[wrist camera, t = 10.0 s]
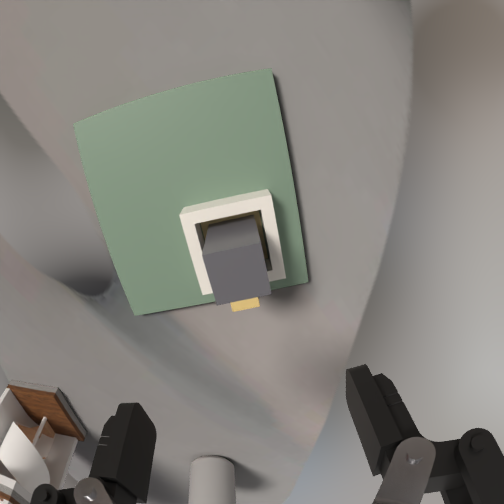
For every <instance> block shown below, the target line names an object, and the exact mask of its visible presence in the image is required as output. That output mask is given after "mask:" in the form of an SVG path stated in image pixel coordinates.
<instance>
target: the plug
mask: <svg viewBox="0 0 504 504" xmlns="http://www.w3.org/2000/svg"><path fill="white" fill-rule="evenodd" d="M202 257H203V261H204V264H205V267H206V271H207V274H208V278H209V281H210V284H211V288H212V291H213V294H214V298H215V301H216V304H217V305H221V304H226V303H231V307H232V310H233V312H235V311H240V310H245V309H249V308H254V307H259V306H260V304H259V298H258V297H261V296H265V295H270V294H271V289H270V284H269V279H268V274H267V269H266V264H265V260H264V255H263V250H262V245H261V241H260V237H259V233H258V229H257V225H256V221H255V218H254V215H249V216H244V217H240V218H235V219H231V220H226V221H222V222H217V223H213V224H209V226H208V230H207V235H206V239H205V244H204V248H203V253H202Z"/></svg>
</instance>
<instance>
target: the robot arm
mask: <svg viewBox="0 0 504 504" xmlns="http://www.w3.org/2000/svg"><path fill="white" fill-rule="evenodd" d="M346 399H347V404H348V408H349V411H350V413H351V416H352V419H353V422H354V424H355V427H356V430H357V432H358V435H359V438H360V440H361V443H362V446H363V449H364V452H365V454H366V457H367V460H368V463H369V466H370V469H371V472H372V474H373V476H375V475H378V474H381V475H382V478H383V482H382V485H381V486H380V489H379V491H378V493H377V495H376V497H375V499H374V501H373V503H372V504H420V502H421V500H422V497H423V494H424V493H431V492H438V491H440V492H441V495H442V497H443V500H444V503H445V504H504V456H503V454H502V452H501V450H500V448H499V446H498V444H497V442H496V440H495V439H494V437H493V435H492V434H491V433H490V432H489V431H488V430H485V429H482V428H475V429H471V430H469V431H467V432H466V433H465V434H464V435H463V436H462V437H461V439H457V440H450V441H444V442H434V441H430V440H428V439H426V438H424V437H423V436H422V435H421V434H420V433H419V431H418V429H417V427H416V425H415V424H414V422H413V420H412V418H411V416H410V414H409V412H408V410H407V408H406V406H405V404H404V403H403V402H402V399H401V397H400V395H399V394H398V392H397V389H396V388H395V386H394V384H393V382H392V381H391V380H390V379H388V378H387V377H386V376H385V375H383V374H382V373H381V374H378V375H375V376H372V374H371V372H370V370H369V368H368V366H367V365H366V364H364V365H361V366H357V367H354V368H350V369H347V370H346ZM155 443H156V429H155V426H154V424H153V422H152V421H151V420H150V418H149V417H148V415H147V414H146V412H145V411H144V409H143V408H142V406H141V405H140V404H139V403H121V404H120V405H119V406H118V409H117V412H116V415H115V416H111V417H110V418H109V420H108V421H107V422H106V424H105V425H104V428H103V431H102V434H101V438H100V440H99V446H98V447H97V450H96V454H95V457H94V460H93V464H92V467H91V471H90V474H89V477H88V478H84V479H82V480H80V481H79V482H78V483H77V484H76V486H75V488H69V489H62V490H57V489H56V488H55V487H53V486H52V485H50V484H41V485H39V486H38V487H36V489H35V490H34V492H33V494H32V498H31V502H30V504H136V503H146V502H147V495H148V488H149V481H150V474H151V468H152V461H153V455H154V449H155Z"/></svg>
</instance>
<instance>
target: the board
mask: <svg viewBox="0 0 504 504" xmlns="http://www.w3.org/2000/svg"><path fill="white" fill-rule="evenodd" d="M73 126H74V130H75V135H76V140H77V144H78V148H79V152H80V157H81V161H82V164H83V168H84V172H85V176H86V180H87V183H88V187H89V190H90V194H91V197H92V201H93V204H94V207H95V210H96V214H97V217H98V220H99V223H100V226H101V229H102V232H103V235H104V238H105V241H106V244H107V247H108V249H109V252H110V255H111V258H112V260H113V263H114V266H115V268H116V271H117V274H118V276H119V279H120V281H121V284H122V286H123V289H124V291H125V294H126V296H127V299H128V301H129V303H130V306H131V308H132V310H133V313H134V315H135V316H136V315H142V314H148V313H154V312H160V311H166V310H171V309H177V308H182V307H188V306H193V305H199V304H204V303H210V302H215V298H214V294H213V291H212V288H211V284H210V281H209V278H208V274H207V271H206V267H205V264H204V261H203V257H202V253H203V248H204V244H205V239H206V235H207V230H208V226H209V224H213V223H217V222H222V221H226V220H231V219H235V218H240V217H244V216H249V215H254V218H255V221H256V225H257V229H258V233H259V237H260V241H261V245H262V250H263V255H264V260H265V264H266V269H267V274H268V279H269V284H270V289H271V290H275V289H279V288H284V287H289V286H293V285H298V284H302V283H307V282H308V275H307V268H306V260H305V253H304V246H303V239H302V233H301V226H300V219H299V213H298V207H297V201H296V194H295V188H294V182H293V177H292V171H291V165H290V160H289V154H288V149H287V143H286V138H285V133H284V127H283V122H282V117H281V112H280V107H279V102H278V97H277V93H276V88H275V83H274V79H273V74H272V69H271V68H269V69H263V70H256V71H250V72H244V73H239V74H234V75H229V76H224V77H219V78H214V79H210V80H205V81H201V82H197V83H193V84H189V85H185V86H181V87H177V88H174V89H170V90H167V91H163V92H160V93H156V94H153V95H150V96H147V97H143V98H140V99H137V100H134V101H131V102H128V103H125V104H123V105H120V106H117V107H114V108H111V109H109V110H106V111H103V112H101V113H98V114H96V115H93V116H91V117H88V118H86V119H83V120H81V121H79V122H76V123H74V124H73Z"/></svg>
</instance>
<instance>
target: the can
mask: <svg viewBox="0 0 504 504" xmlns="http://www.w3.org/2000/svg"><path fill="white" fill-rule="evenodd" d="M188 504H236V492H235V469H234V465H233V464H232V463H231V462H230V461H228V460H227V459H225V458H223V457H220V456H213V455H208V456H201V457H199V458H197V459H196V460H194V461H193V462H192V463H191V467H190V483H189V502H188Z"/></svg>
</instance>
